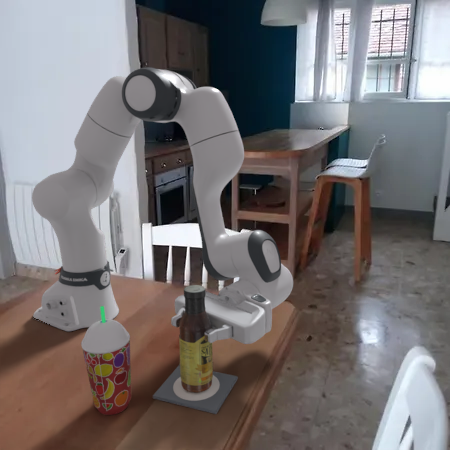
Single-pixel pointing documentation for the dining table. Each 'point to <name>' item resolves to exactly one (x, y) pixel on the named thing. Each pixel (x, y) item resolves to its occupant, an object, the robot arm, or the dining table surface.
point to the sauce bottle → (195, 342)
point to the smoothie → (108, 364)
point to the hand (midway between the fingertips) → (189, 330)
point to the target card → (201, 401)
